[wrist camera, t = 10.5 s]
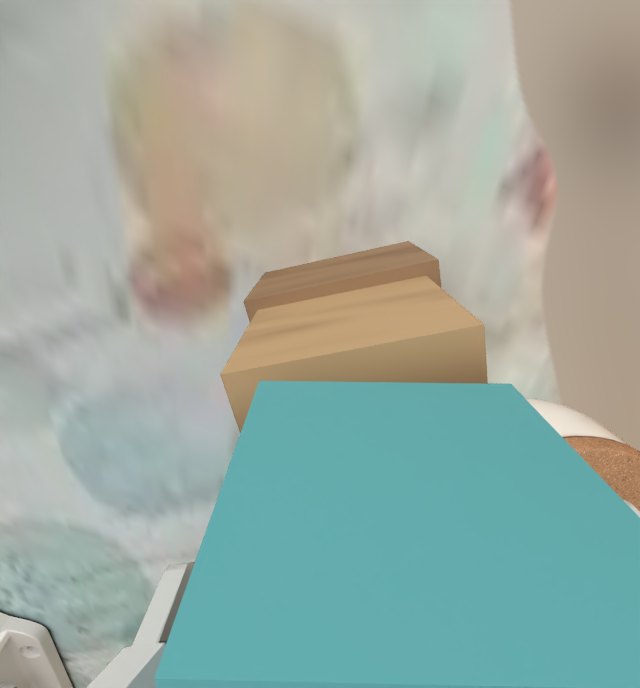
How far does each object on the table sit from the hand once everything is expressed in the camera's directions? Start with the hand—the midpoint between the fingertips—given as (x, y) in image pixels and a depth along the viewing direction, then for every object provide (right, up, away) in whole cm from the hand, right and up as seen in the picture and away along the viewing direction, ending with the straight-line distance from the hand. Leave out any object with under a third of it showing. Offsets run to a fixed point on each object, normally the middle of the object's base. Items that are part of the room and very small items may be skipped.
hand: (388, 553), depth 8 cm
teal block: (0, +1, +2) cm, 2 cm away
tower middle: (0, +3, +9) cm, 9 cm away
